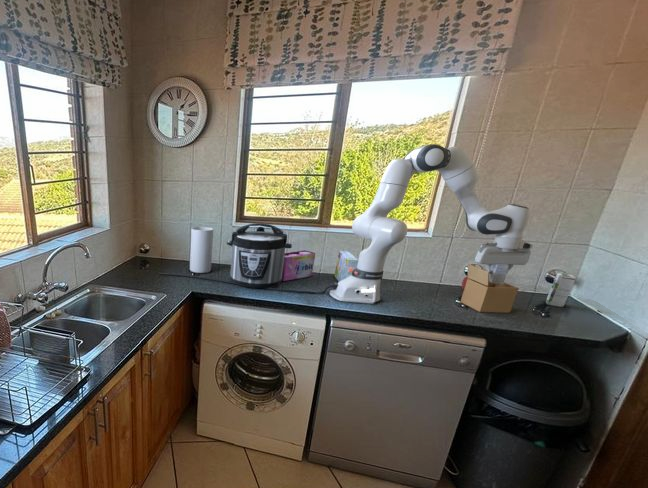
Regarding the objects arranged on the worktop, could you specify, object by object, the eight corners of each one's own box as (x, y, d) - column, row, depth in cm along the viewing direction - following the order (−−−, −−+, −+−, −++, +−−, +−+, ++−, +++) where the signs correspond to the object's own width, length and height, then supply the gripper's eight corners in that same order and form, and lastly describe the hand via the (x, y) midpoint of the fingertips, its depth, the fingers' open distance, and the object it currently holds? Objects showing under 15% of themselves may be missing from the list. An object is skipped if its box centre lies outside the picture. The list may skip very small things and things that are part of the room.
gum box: (281, 281, 219) (285, 257, 214) (271, 278, 226) (274, 254, 221) (312, 276, 230) (316, 252, 225) (301, 272, 237) (304, 250, 232)
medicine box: (503, 284, 176) (510, 265, 173) (491, 283, 178) (497, 264, 174) (496, 279, 183) (502, 261, 180) (484, 278, 184) (490, 260, 181)
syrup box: (544, 301, 192) (556, 272, 187) (561, 304, 189) (573, 274, 184) (547, 304, 188) (558, 275, 183) (564, 307, 185) (576, 277, 179)
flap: (488, 285, 175) (487, 286, 175) (468, 277, 187) (467, 277, 187) (489, 272, 172) (488, 272, 172) (468, 264, 184) (467, 264, 184)
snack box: (353, 288, 209) (359, 260, 204) (342, 287, 210) (347, 259, 205) (343, 276, 229) (349, 250, 223) (333, 276, 230) (338, 250, 224)
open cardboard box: (479, 311, 179) (487, 287, 175) (460, 301, 191) (467, 278, 187) (510, 312, 178) (518, 288, 174) (488, 302, 190) (496, 279, 186)
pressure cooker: (215, 280, 221) (219, 222, 209) (248, 272, 237) (254, 217, 225) (260, 294, 199) (268, 230, 187) (293, 284, 215) (302, 224, 203)
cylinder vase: (212, 269, 243) (215, 227, 233) (207, 274, 232) (210, 231, 223) (192, 267, 247) (194, 226, 238) (187, 272, 236) (189, 229, 227)
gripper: (487, 244, 171) (477, 275, 176) (537, 245, 170) (525, 276, 176) (476, 241, 177) (467, 271, 182) (525, 242, 176) (514, 272, 181)
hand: (496, 273), depth 179 cm, fingers closed on medicine box, 5 cm apart
